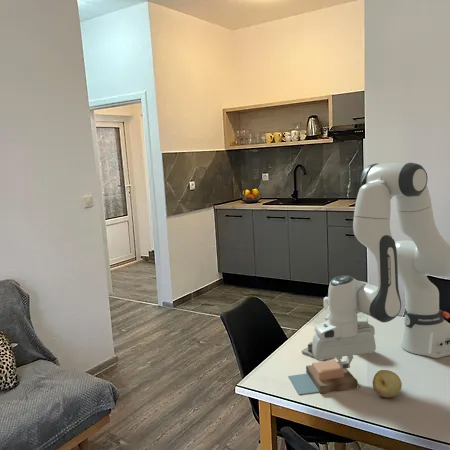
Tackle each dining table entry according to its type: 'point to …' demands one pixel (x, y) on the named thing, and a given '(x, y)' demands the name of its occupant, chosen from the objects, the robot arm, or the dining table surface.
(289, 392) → the dining table surface
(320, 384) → the walnut stand
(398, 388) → the fruit
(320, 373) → the terracotta tile
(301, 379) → the slate mat
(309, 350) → the packaged product
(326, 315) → the figurine
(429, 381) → the dining table surface
